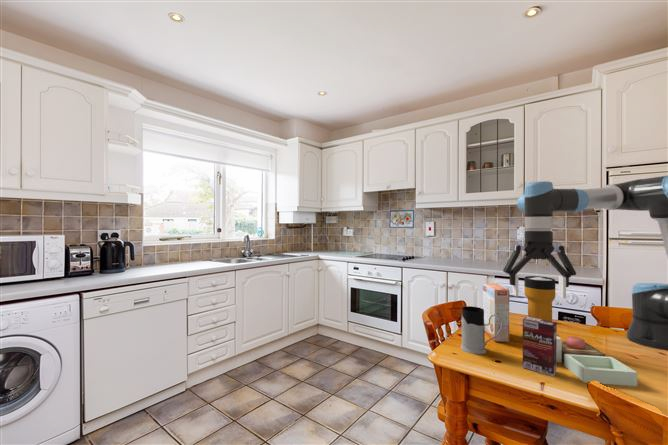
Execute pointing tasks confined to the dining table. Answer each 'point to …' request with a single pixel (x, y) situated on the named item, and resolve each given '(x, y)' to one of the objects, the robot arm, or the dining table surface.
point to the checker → (580, 351)
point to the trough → (600, 369)
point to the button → (575, 343)
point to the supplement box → (539, 345)
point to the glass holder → (474, 330)
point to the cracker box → (496, 311)
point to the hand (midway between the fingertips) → (538, 296)
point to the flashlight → (539, 296)
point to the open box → (559, 350)
